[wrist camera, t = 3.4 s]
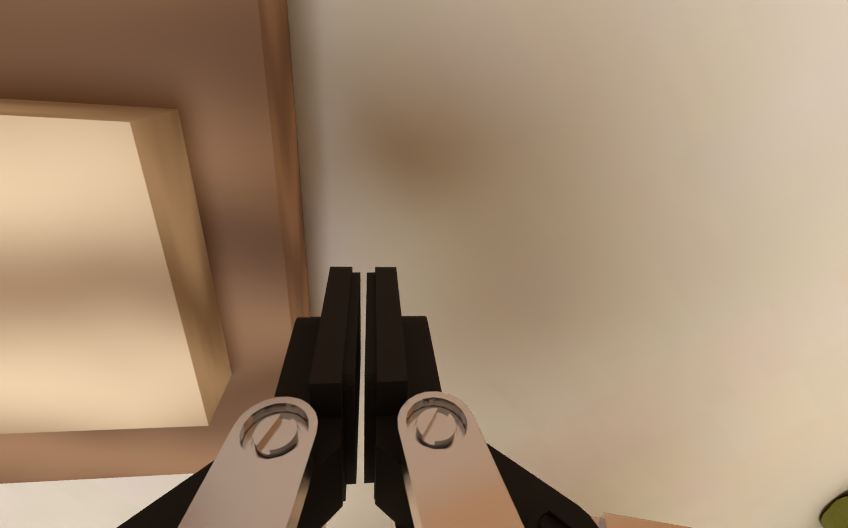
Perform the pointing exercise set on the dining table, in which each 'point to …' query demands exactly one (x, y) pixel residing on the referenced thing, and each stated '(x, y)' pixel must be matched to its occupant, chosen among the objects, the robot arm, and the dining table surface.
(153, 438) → the walnut deck
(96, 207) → the ash tile
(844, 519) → the plant pot
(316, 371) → the robot arm
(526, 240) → the dining table surface
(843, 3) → the dining table surface
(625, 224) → the dining table surface
